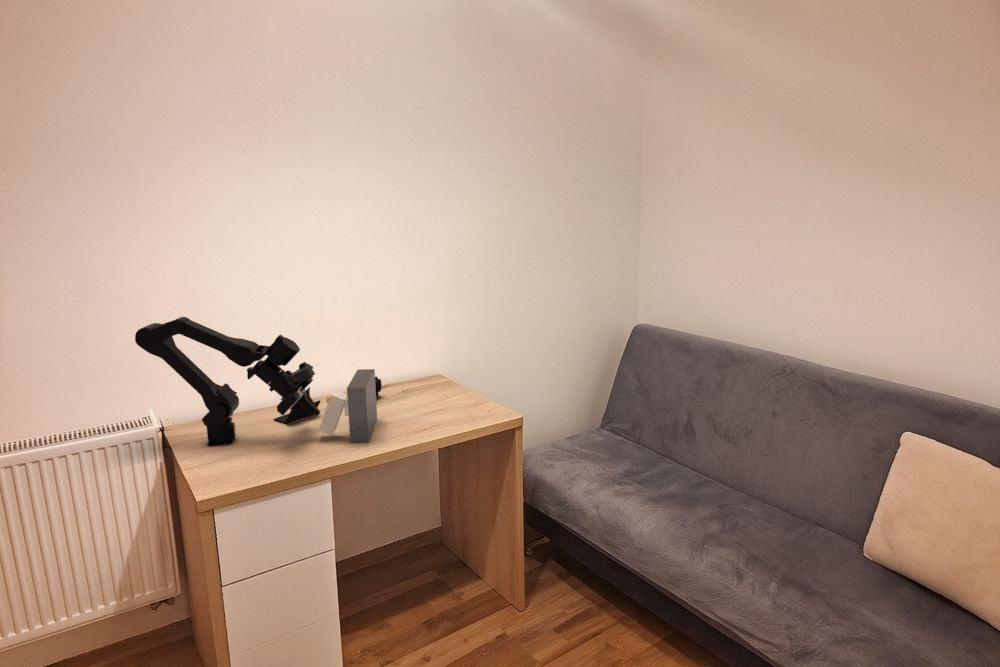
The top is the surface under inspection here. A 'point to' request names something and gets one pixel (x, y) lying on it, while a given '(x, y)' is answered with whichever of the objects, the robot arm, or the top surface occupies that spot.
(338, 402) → the block
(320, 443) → the top surface
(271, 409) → the top surface
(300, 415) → the handheld gaming console
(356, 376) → the rail board
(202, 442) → the top surface
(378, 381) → the digital camera
